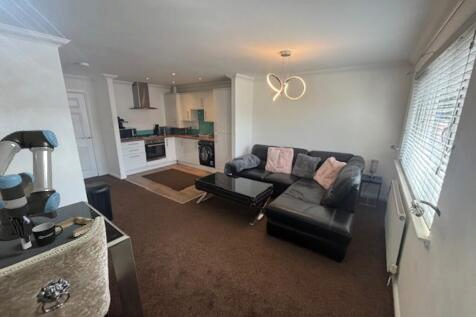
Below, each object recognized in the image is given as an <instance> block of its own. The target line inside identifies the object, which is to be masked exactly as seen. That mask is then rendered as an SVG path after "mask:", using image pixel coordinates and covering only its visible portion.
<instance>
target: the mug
mask: <svg viewBox="0 0 476 317" xmlns="http://www.w3.org/2000/svg"><path fill="white" fill-rule="evenodd" d="M56 227H60V228H61V230H60V231H59V233H58V234H56V233H57V232H56V231H55V228H56ZM63 231H64V229H63V228H62V227H61V226H59V225H57V224H55V223H54V222H45V223H41V224H39V225H36V227H34V228H33V229H32V236H33V238H34V240H35V242H36V244H37V245H38V246H40V247H46V245H47V246H49V245H51V244H53V243H54V242H55V241H56V238H57V237H58V236H60V235H61V234H62V233H63ZM52 242H53V243H52ZM48 244H49V245H48Z"/></svg>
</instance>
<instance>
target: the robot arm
mask: <svg viewBox="0 0 476 317" xmlns="http://www.w3.org/2000/svg"><path fill="white" fill-rule="evenodd" d="M58 143H59V142H58V139H57V136H56V135H55V133H54V132H53V130H49V129H47V130H46V129H37V130H33V129H32V130H16V131H13V132H11V133H9V134H7V135H5V136H4V137H3V138H1V139H0V196H1V199H0V240H1V241H12V240H16V239H20V242H21V245H22V249H23V250H27V249H28V248H31V247H32V242H31V237H30V236H31V235H32V236H33V233H32V229H33V228H34V227H36V226H37V224H36V223H35V221H34V220H33V219H32V218H31V216H34V215H40V214H41V215H42V214H47V213H50V212H55V211H57V210H58V209H59V206H60V203H61V194H60V193H59V192H57V190H56V189H54V188H53V171H52V168H53V167H52V166H53V165H52V164H53V163H52V153H53V152H54V151H55V148H58V145H59V144H58ZM25 149H27V150H29V151H30V152H31V153H32V173H30V172H26V171H25V172H20V173H14V174H13V173H11V174H6V172H7V170H8V169H9V167H10V165H11V163H12V162H13V160H14V157H15V156H16V155H17V153H19V152H21V151H22V150H25ZM5 174H6V175H5ZM31 185H33V190H32V191H30V192H29V196H26V192H25V189H26V188H28V187H30V186H31Z"/></svg>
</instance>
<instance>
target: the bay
mask: <svg viewBox="0 0 476 317" xmlns="http://www.w3.org/2000/svg"><path fill="white" fill-rule="evenodd" d="M94 220H96V219H95V218H89V217H82V216H76V215H74V216H71V217H70V218H68V219H65V220H64V221H61V222H59V223H57V224H56V225H59V226H61V227H62V228H63V230H65V229H66V228H68V227H70V226H72V225H73V224H80V225H83V226H81V227H79V228H76V229H75V230H73V231H72V236H73V238H74V237H76V236H79V235H80V234H82V235H84V234H86V233H87V232H89V231H90V230H89V229H90V227H91V225H92V224H93V222H94ZM84 224H86V225H84ZM88 230H89V231H88ZM55 231H56V233H58V232H61V228H60V227H56V228H55ZM80 236H81V235H80ZM80 236H79V237H80Z"/></svg>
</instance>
